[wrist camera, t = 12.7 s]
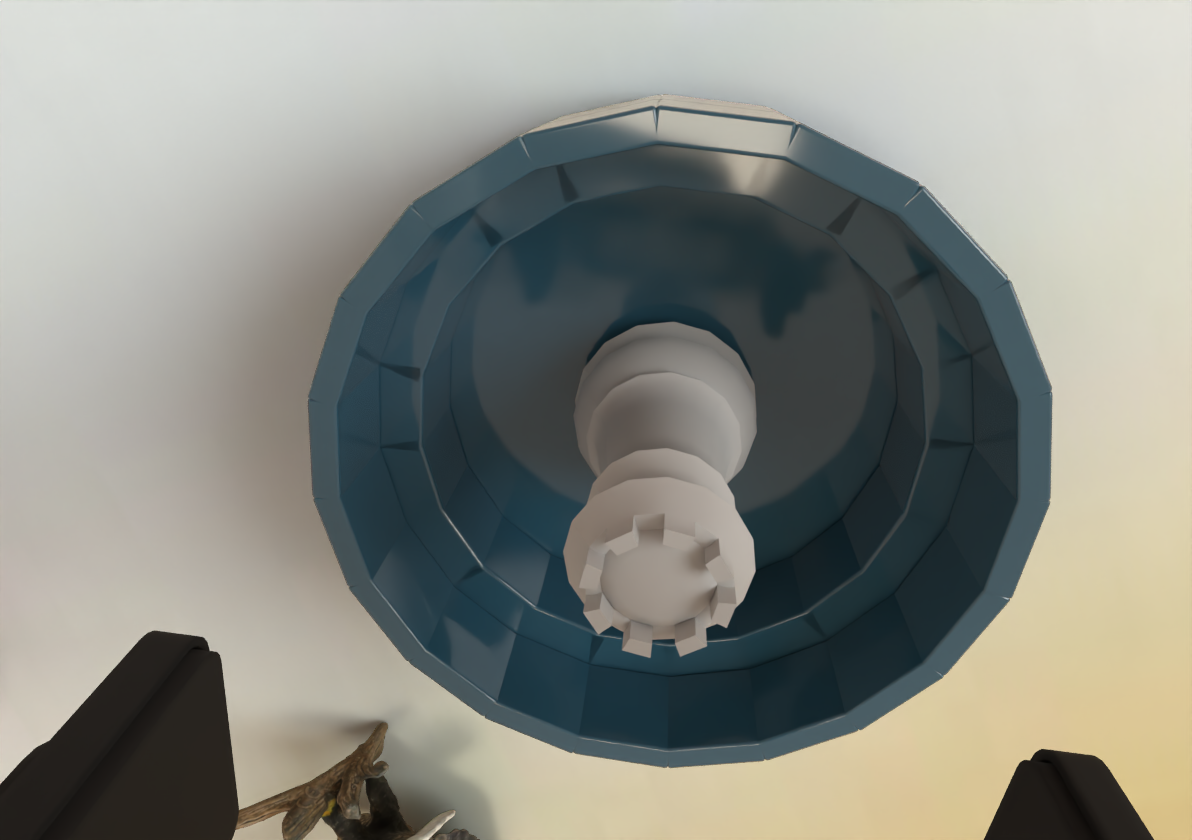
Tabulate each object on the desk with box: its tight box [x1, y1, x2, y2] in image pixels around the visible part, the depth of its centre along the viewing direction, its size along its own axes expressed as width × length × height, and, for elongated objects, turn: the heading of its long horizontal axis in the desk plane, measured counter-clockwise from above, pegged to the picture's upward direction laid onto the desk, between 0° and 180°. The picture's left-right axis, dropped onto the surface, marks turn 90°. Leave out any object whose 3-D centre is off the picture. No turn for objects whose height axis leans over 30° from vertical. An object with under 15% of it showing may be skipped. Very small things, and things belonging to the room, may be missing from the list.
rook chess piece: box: [563, 322, 757, 658], centre depth 16 cm, size 4×4×8 cm
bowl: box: [308, 94, 1052, 768], centre depth 18 cm, size 14×14×6 cm
